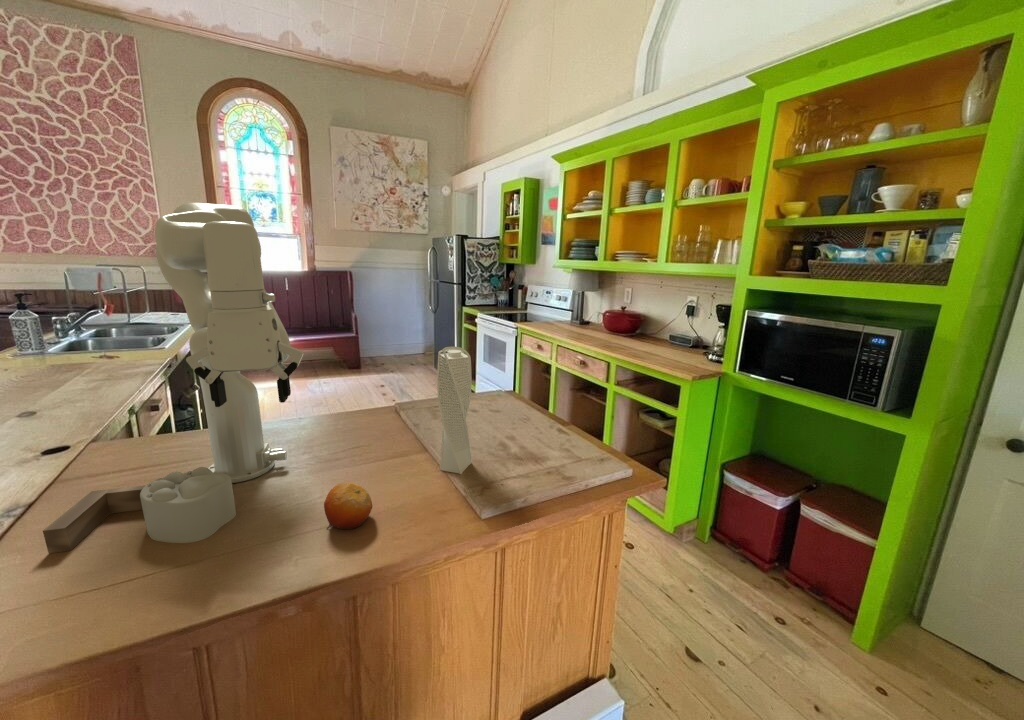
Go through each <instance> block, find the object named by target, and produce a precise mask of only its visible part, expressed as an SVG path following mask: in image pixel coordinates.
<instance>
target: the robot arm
mask: <svg viewBox="0 0 1024 720" xmlns="http://www.w3.org/2000/svg"><path fill="white" fill-rule="evenodd" d="M258 235H259V234H258V232H257V229H256V228H255V225H254V221H253V218H252V216H251V214H250V213H249V212H248V211H247V210H246V209H245V208H244V207H242V206H239V205H233V204H219V203H218V204H217V203H205V202H204V203H203V202H186V203H183V204H181V205H179V206H177V207H176V208H175V209H174V210H173V212H172V213H171V214H166V215H162V216H161V217H159V218H158V219H157V221H156V223H155V227H154V239H155V245H156V247H155V254H156V259H157V263H158V266H159V268H160V269H159V270H160V271H161V274H162V276H163V277H164V279H165V280H166V282H167V284H168V285H169V286H170V287H171V288H172V289H173V291H174V292H176V294H177V295H178V296H179V297H180V298H181V300H182V303H183V306H184V309H185V312H186V315H187V317H188V318H187V319H188V321H189V323H190V326H191V327H192V329H193V331H194V332H193V333H192V334H191V336H190V338H189V342H188V343H189V344H188V345H189V351H190V355H189V356H187V357H186V358H185V361H186V363H187V364H188V366H190V368H191V370H193V372H194V374H195V375H197V376H198V378H199V382H200V383H199V384H200V387H201V392H202V398H203V405H204V410H205V415H206V416H205V417H206V422H207V429H208V434H209V435H208V436H209V442H210V448H211V454H212V461H213V463H212V464H211V465H210V466H209V467H207V468H208V469H210V470H211V471H212V472H215V473H222V474H227V475H229V476H230V478H231V482H232V484H235V483H242V482H246V481H249V480H253V479H255V478H258V477H260V476H263V475H264V474H266V473H268V472H269V471H271V469H272V468H273V467H274V465H275V463H276V462H275V461H286V460H287V458H288V452H287V450H284V448H283V447H280V448H270V446H269V442H265V440H264V434H263V433H264V432H263V424H262V418H261V417H262V416H261V409H260V408H261V407H260V400H259V399H260V398H259V394H258V389H257V387H256V385H255V384H254V383H253V381H251V380H250V379H249V378H248V377H246V376H244V375H243V374H242V373H241V372H250V371H266V370H267V371H268V370H271V371H272V372H273V373H274V375H276V376H277V377H278V379H277V380H276V385H277V393H278V394H277V395H278V401H279V402H280V403H285V402H286V401H287V400H288V398H289V397H290V396H291V393H292V390H291V381H290V376H291V375H292V374H293V373H294V371H295V370H296V369H297V368H298V367H299V366H300V363H301V361H302V358H303V357H304V354H305V353H304V351H303V350H301V349H298V348H296V347H293V346H292V345H291V341H290V338H289V335H288V332H287V331H286V328H285V326H284V323H282V320H281V319H280V317H279V314H278V312H277V311H276V309H275V306H274V305H273V303H275V302H276V295H275V293H269V292H267V290H266V289H265V284H264V275H263V268H262V267H263V266H262V260H261V259H262V247H261V246H262V245H261V242H260V238H259V237H258ZM206 273H207V274H206ZM290 356H291V361H290V363H289V364H288V366H286V365H285V364H284V363H286V361H287V360H288V359H289V357H290Z"/></svg>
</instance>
